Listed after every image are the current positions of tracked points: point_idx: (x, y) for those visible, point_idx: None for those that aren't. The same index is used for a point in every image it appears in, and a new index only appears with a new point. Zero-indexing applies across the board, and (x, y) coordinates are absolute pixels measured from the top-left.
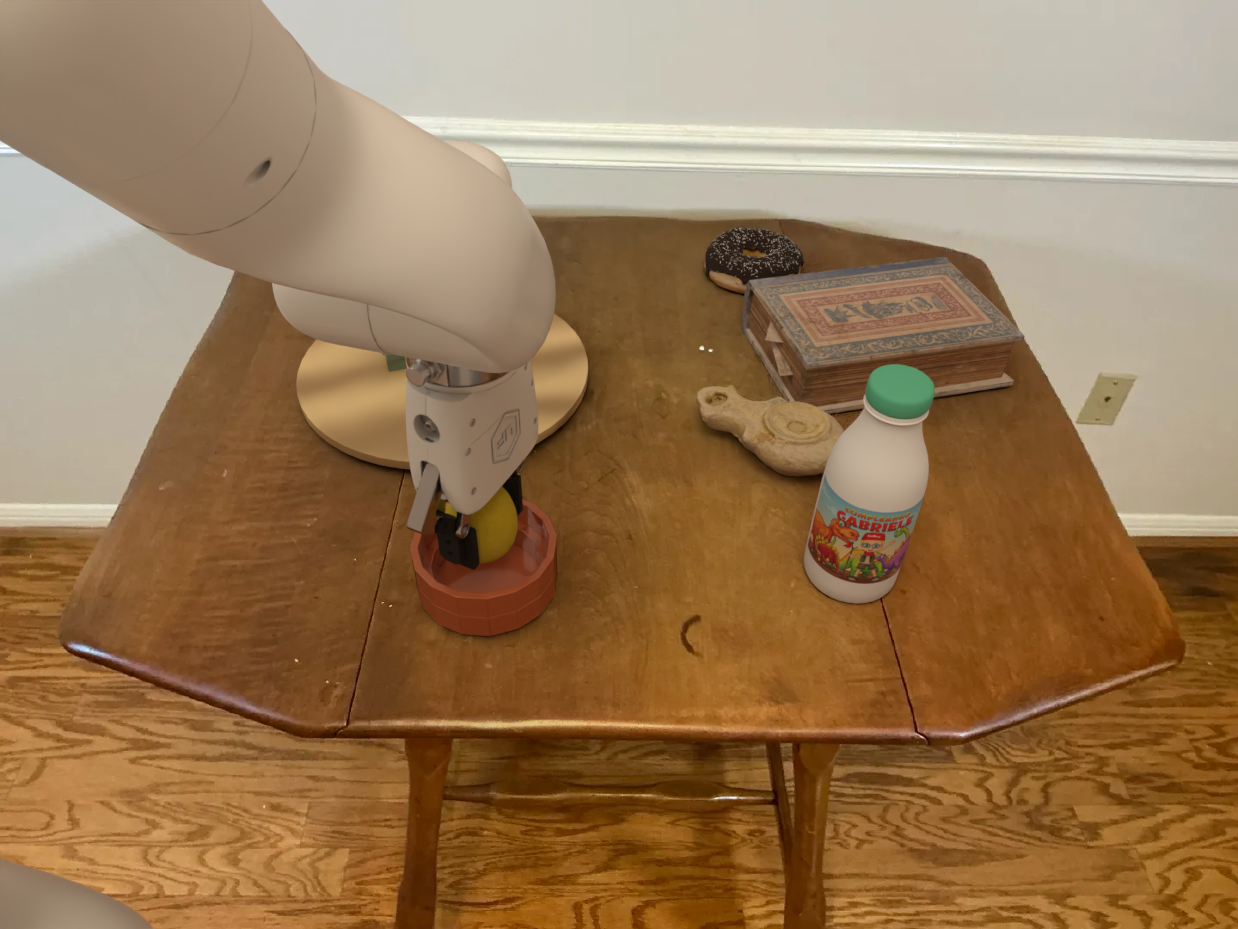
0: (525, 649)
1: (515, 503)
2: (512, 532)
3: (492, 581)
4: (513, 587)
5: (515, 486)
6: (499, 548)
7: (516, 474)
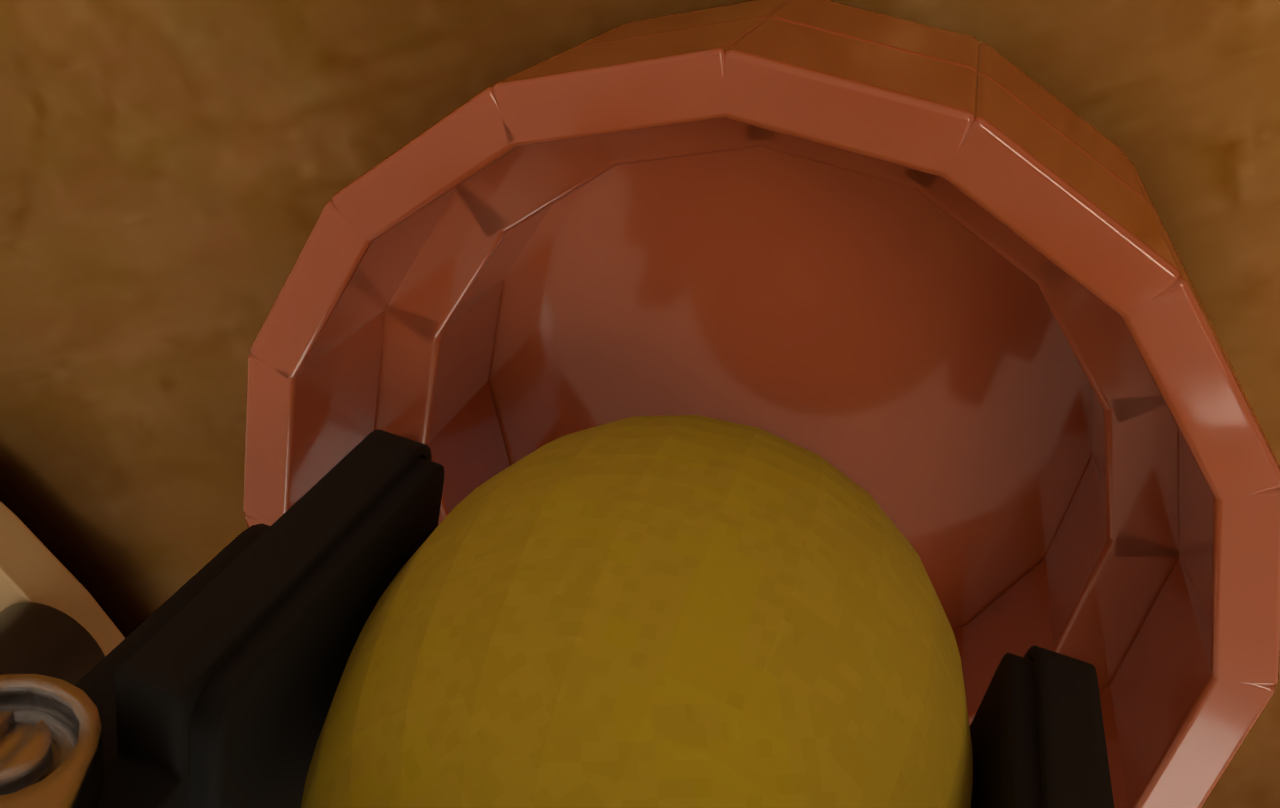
0: (1255, 67)
1: (378, 537)
2: (717, 504)
3: (777, 389)
4: (1135, 306)
5: (253, 659)
6: (884, 553)
7: (119, 711)
